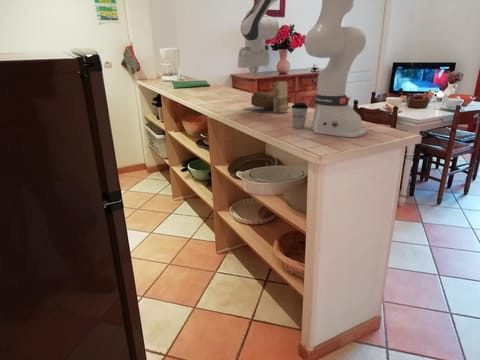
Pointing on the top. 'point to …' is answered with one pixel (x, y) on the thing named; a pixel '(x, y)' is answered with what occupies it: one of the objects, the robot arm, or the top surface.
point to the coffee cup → (299, 114)
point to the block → (263, 100)
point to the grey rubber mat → (261, 109)
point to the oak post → (280, 97)
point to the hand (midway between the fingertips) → (253, 76)
